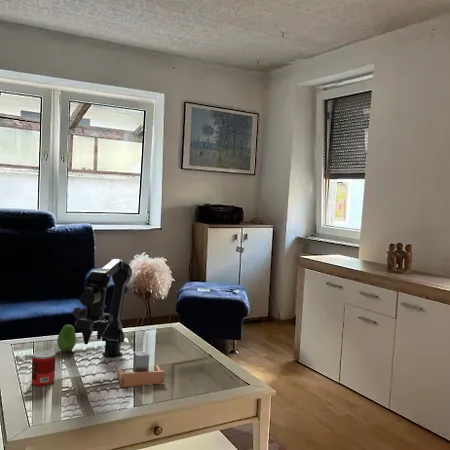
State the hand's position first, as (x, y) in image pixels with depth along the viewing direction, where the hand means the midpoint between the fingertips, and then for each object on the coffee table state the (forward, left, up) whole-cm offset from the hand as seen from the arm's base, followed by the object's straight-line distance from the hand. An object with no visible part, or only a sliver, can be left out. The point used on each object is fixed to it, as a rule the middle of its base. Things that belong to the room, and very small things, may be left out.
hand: (92, 341), depth 185 cm
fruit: (-10, -25, -12) cm, 30 cm away
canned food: (+18, -5, -12) cm, 23 cm away
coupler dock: (-7, +20, -12) cm, 24 cm away
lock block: (-6, +20, -12) cm, 24 cm away
